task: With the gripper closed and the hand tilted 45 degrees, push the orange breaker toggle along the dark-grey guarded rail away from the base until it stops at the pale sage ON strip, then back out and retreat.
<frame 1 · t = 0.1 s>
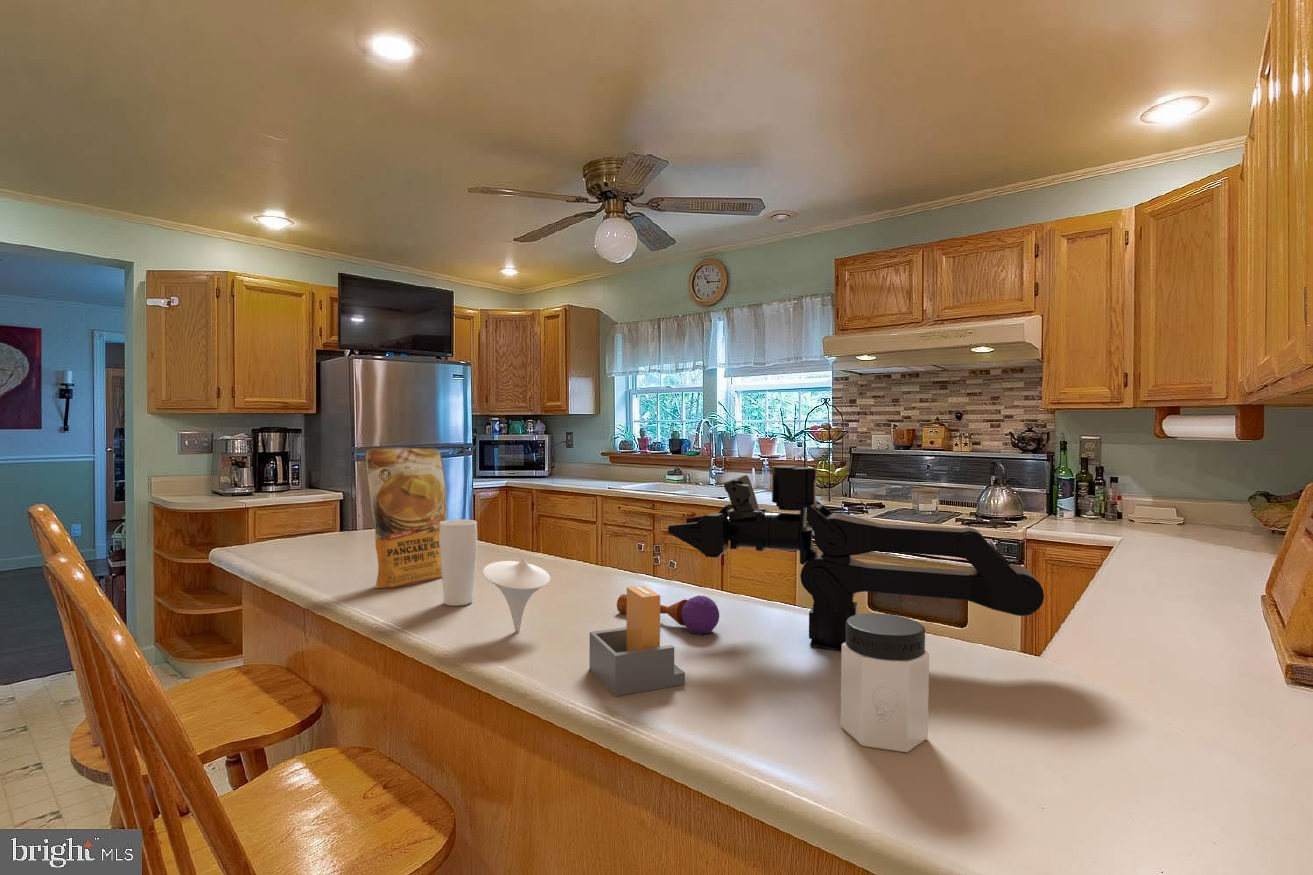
hand: (677, 525, 109), 17 cm above the table, tool horizontal, fingers open, 9 cm apart
pancake mix bag: (409, 581, 138), on the table
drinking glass: (458, 604, 122), on the table
white spinning top: (516, 632, 106), on the table
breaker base: (633, 676, 87), on the table
jar: (883, 735, 72), on the table
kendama: (666, 625, 111), on the table
breaker toggle: (642, 626, 88), point 7 cm above the table, slide at 0.0 cm
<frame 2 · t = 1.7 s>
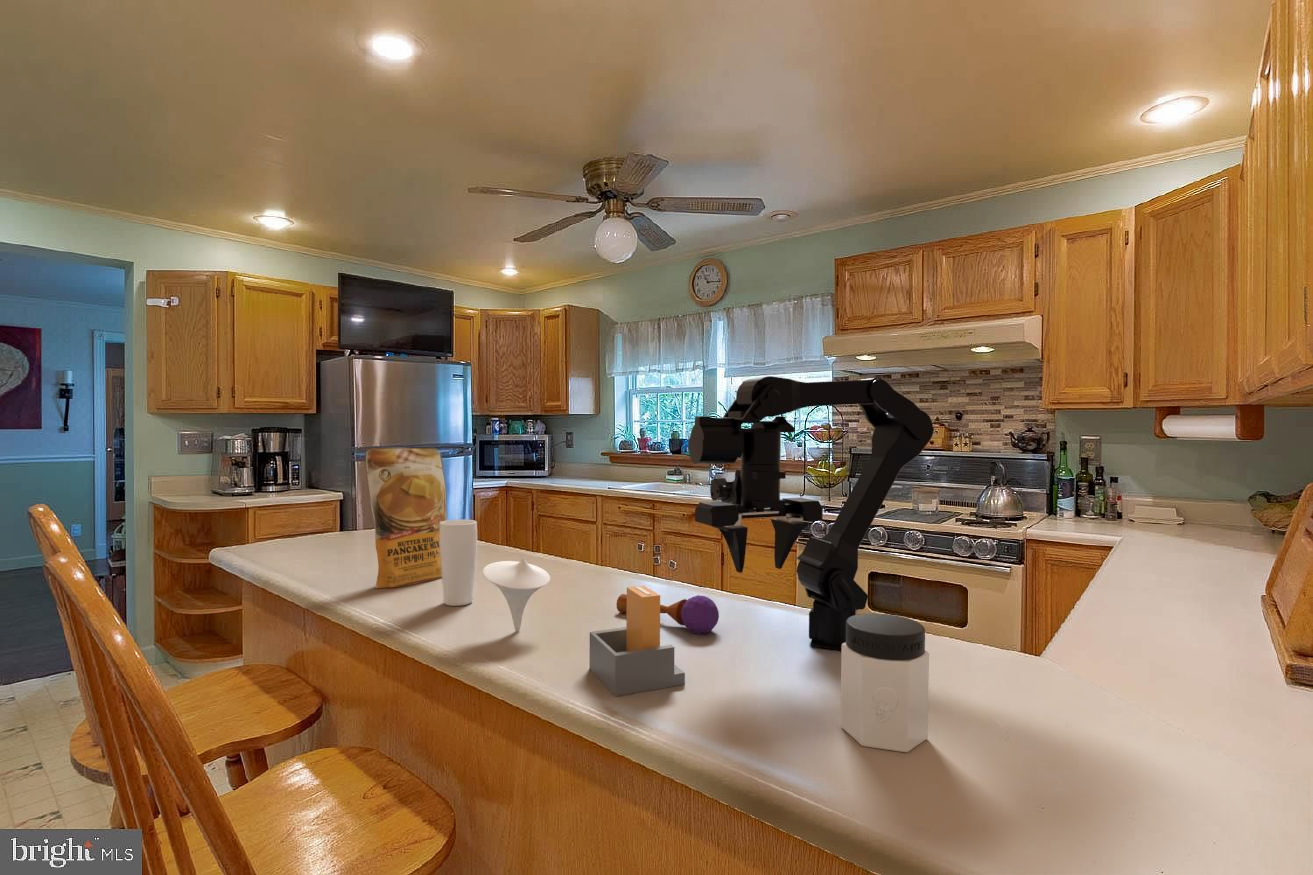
hand: (759, 570, 97), 12 cm above the table, tool pointing down, fingers open, 6 cm apart
nothing on the table moved.
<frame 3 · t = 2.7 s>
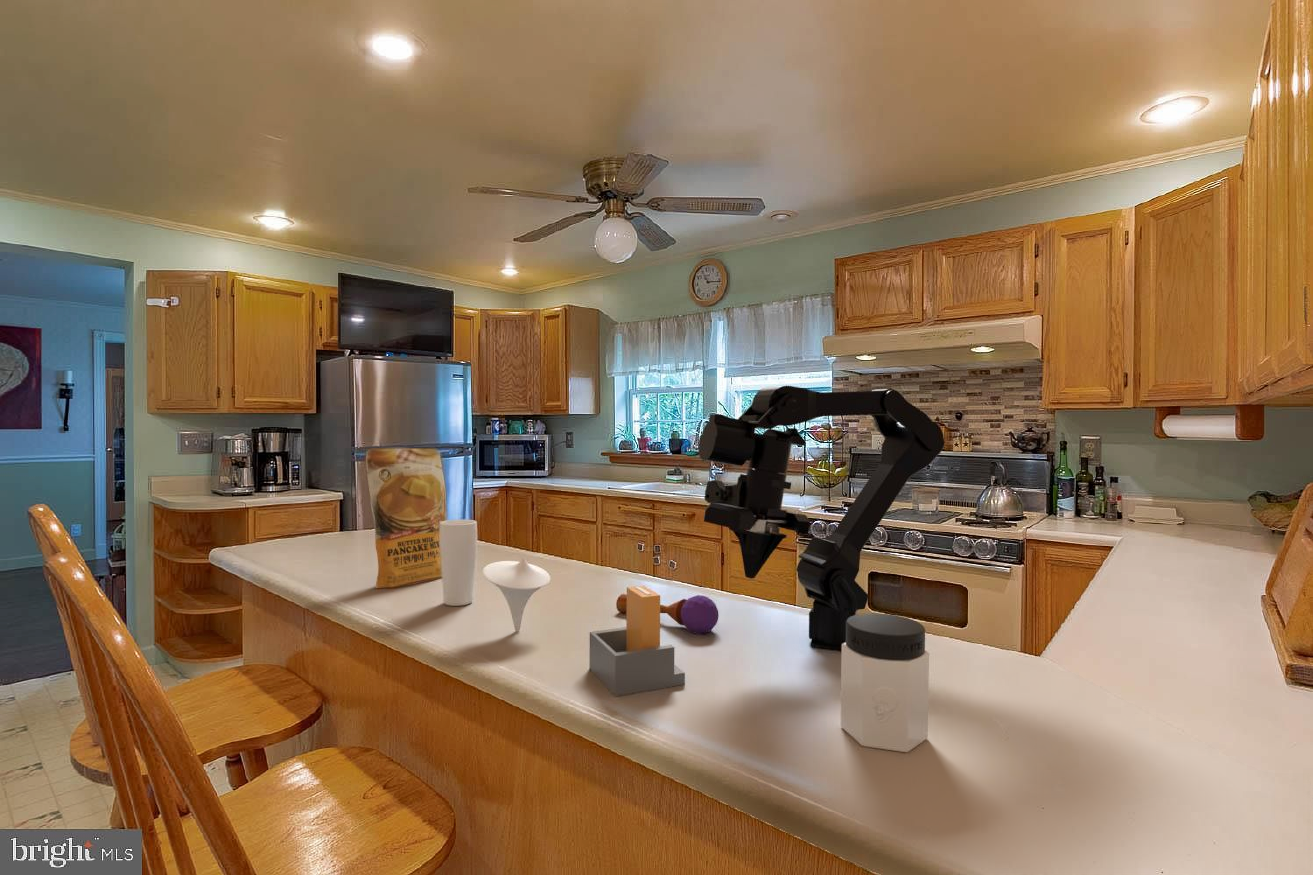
hand: (749, 577, 96), 11 cm above the table, tool pointing down, fingers closed
nothing on the table moved.
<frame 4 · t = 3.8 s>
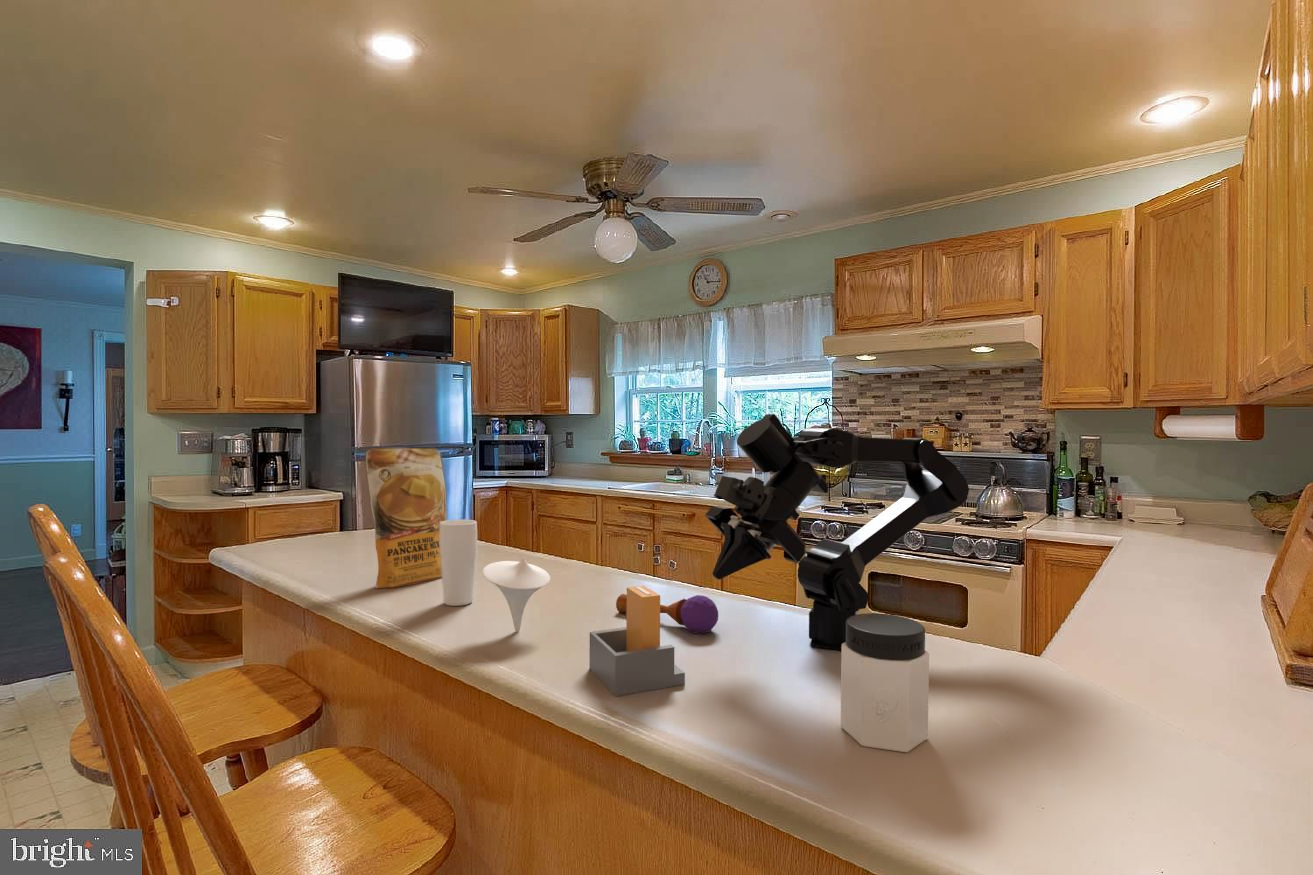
hand: (715, 576, 92), 12 cm above the table, tool tilted 45°, fingers closed
nothing on the table moved.
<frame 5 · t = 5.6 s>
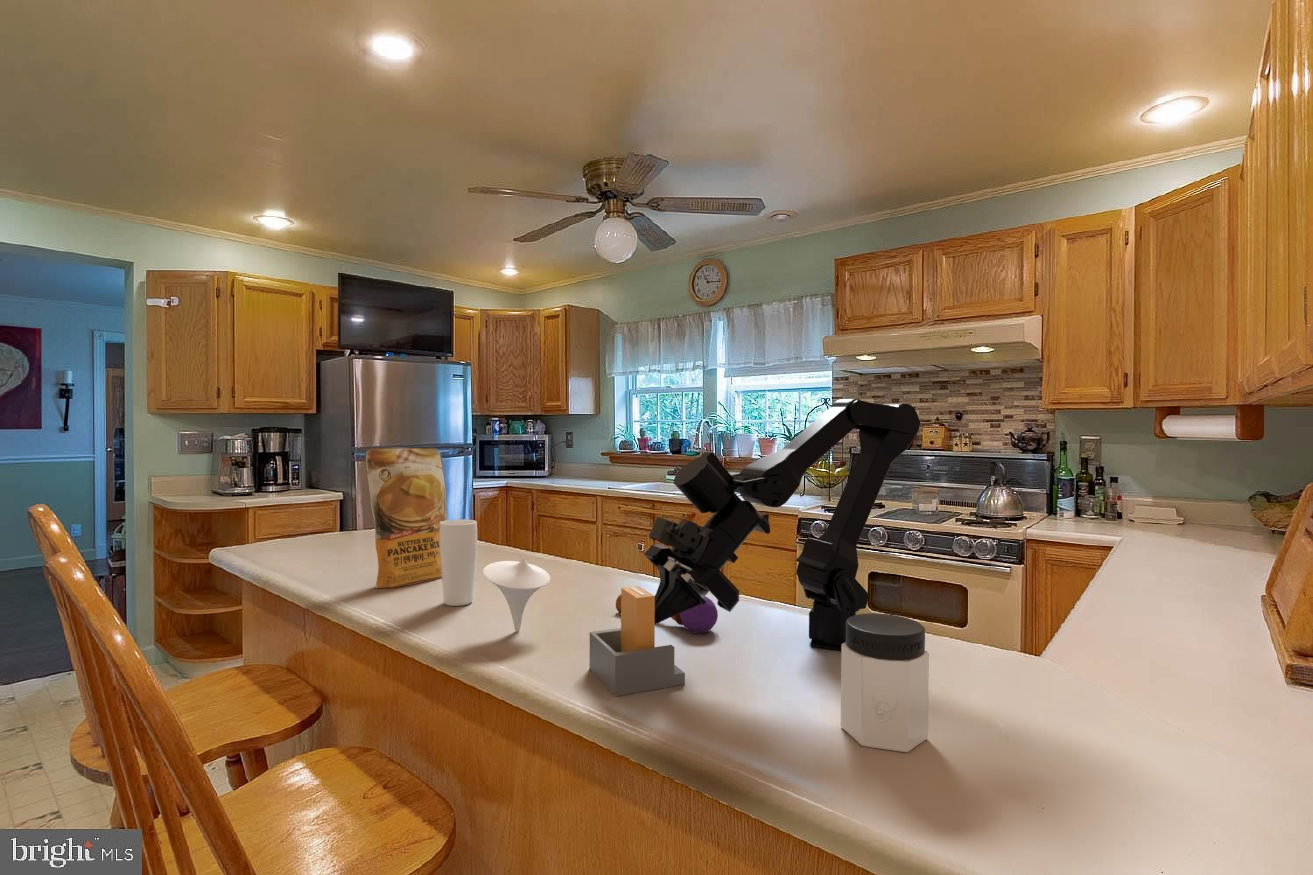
hand: (648, 622, 88), 7 cm above the table, tool tilted 45°, fingers closed, pressing on breaker toggle
breaker toggle: (637, 627, 87), point 7 cm above the table, slide at 0.8 cm, touching gripper
everything else where it was.
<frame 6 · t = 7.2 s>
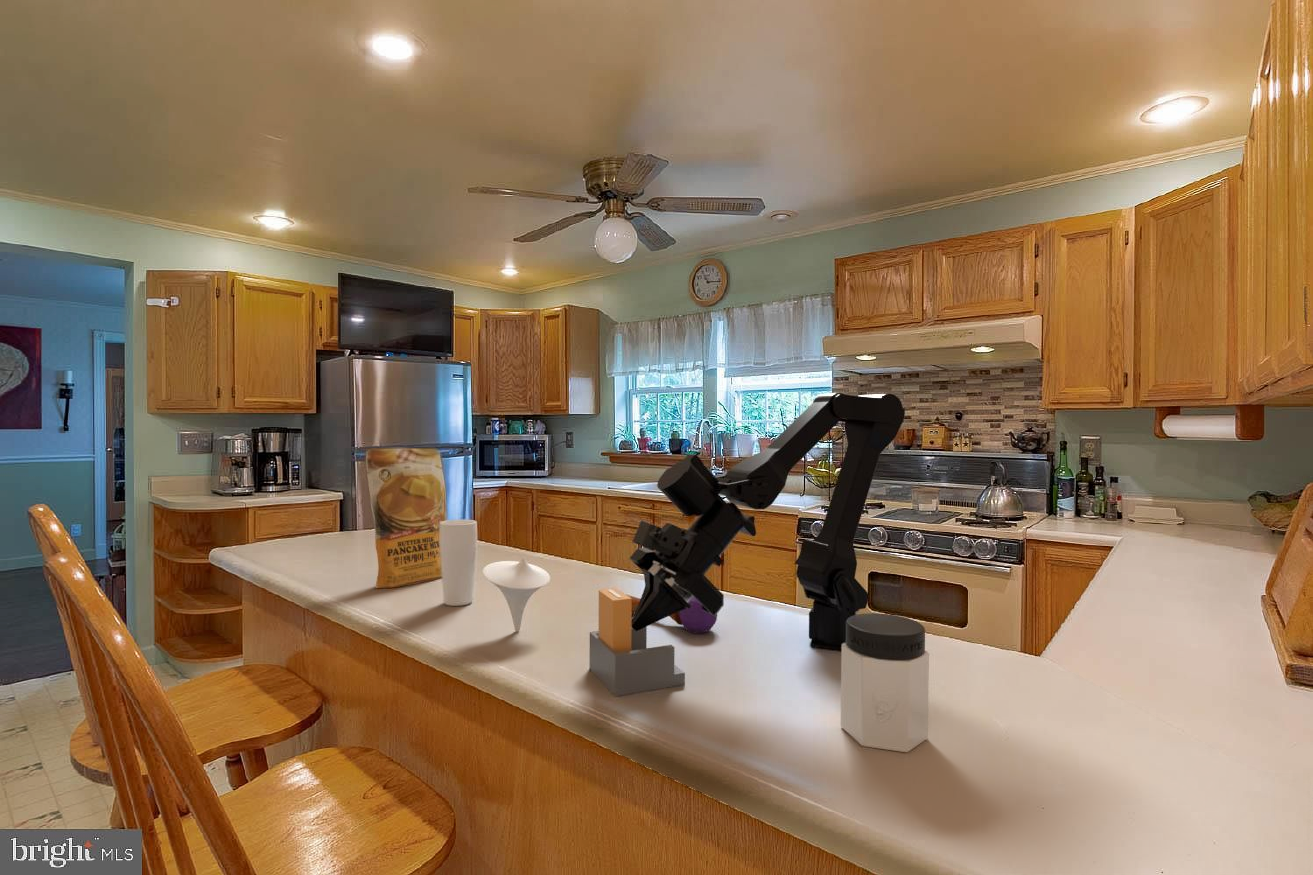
hand: (632, 628, 87), 6 cm above the table, tool tilted 45°, fingers closed
breaker toggle: (614, 630, 86), point 7 cm above the table, slide at 4.0 cm, touching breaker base
everything else where it was.
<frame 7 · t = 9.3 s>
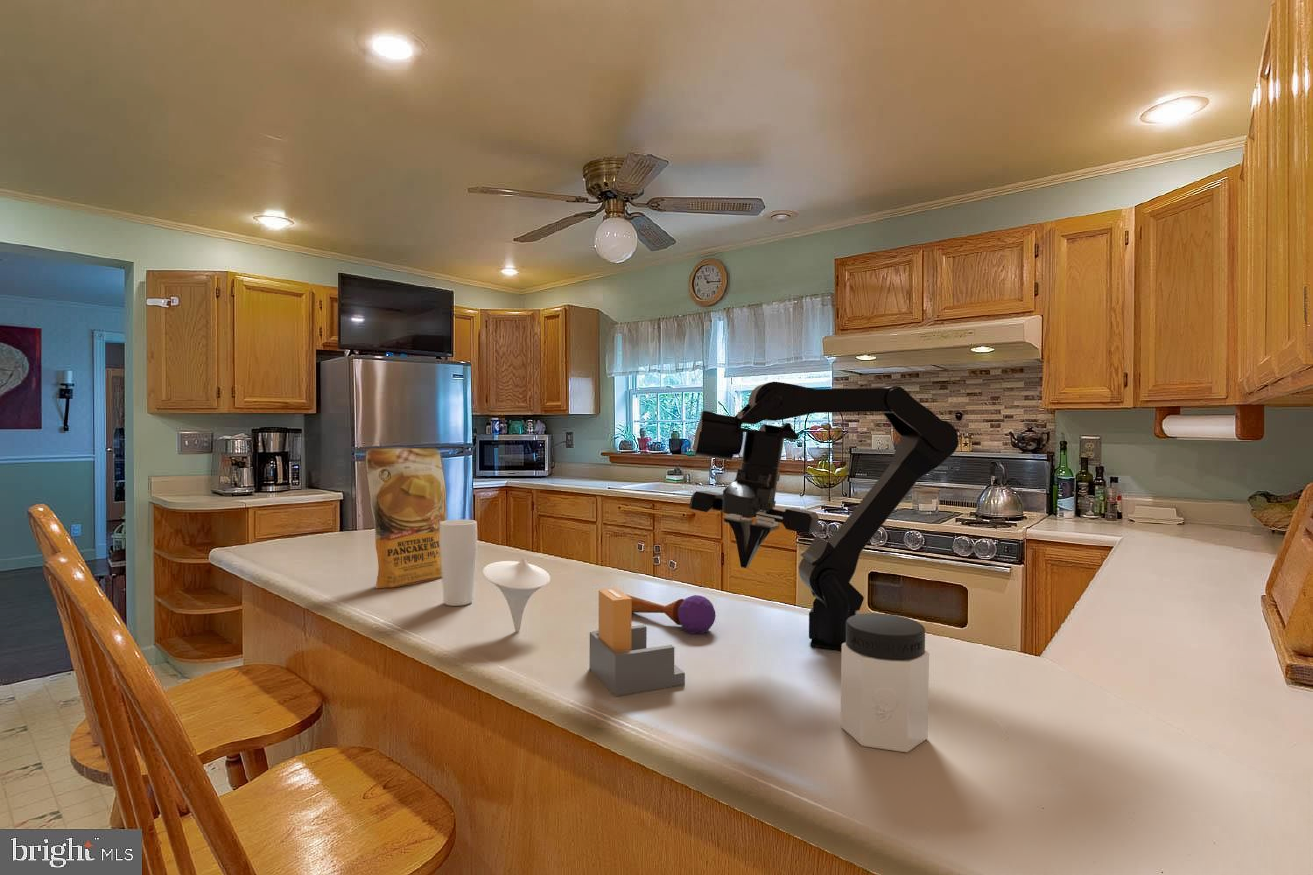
hand: (744, 567, 100), 12 cm above the table, tool pointing down, fingers closed
nothing on the table moved.
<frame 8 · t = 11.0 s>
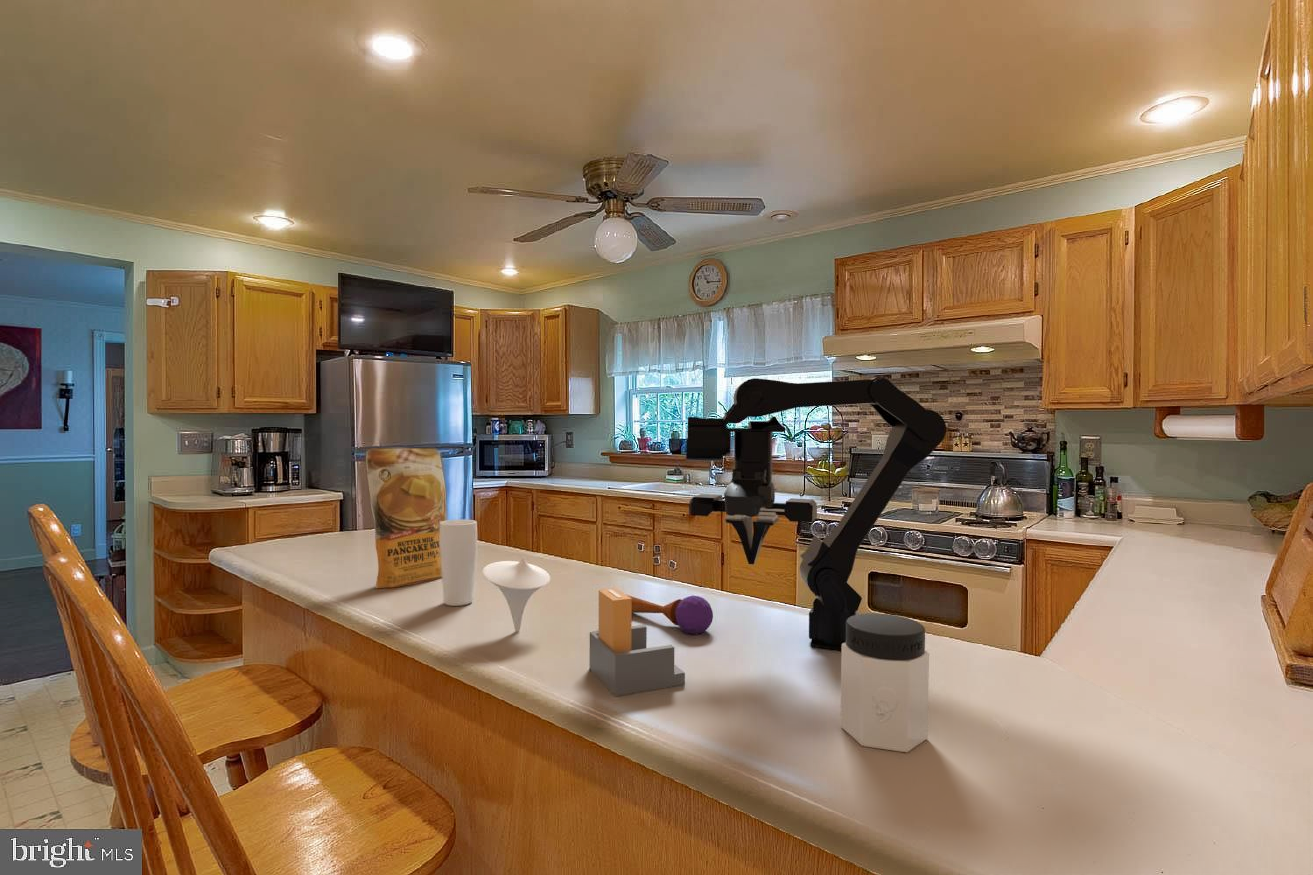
hand: (751, 563, 101), 12 cm above the table, tool pointing down, fingers closed
nothing on the table moved.
at the end: breaker toggle slide at 4.0 cm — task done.
